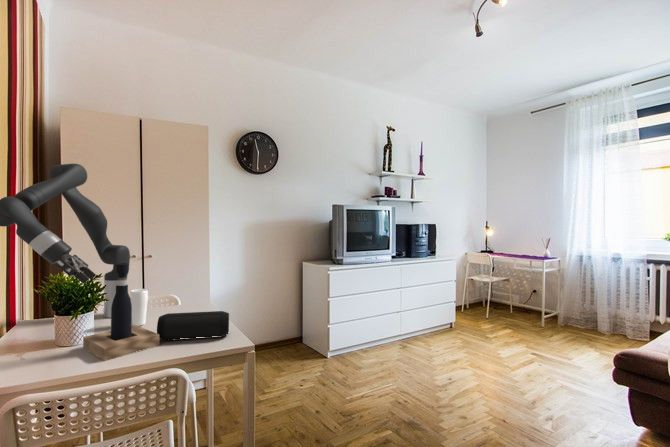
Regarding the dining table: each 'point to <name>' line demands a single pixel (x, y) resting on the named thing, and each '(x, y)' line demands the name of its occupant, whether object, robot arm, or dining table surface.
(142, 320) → the drinking glass
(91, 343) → the walnut jig
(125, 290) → the black bottle
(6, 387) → the dining table surface
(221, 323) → the portable speaker
